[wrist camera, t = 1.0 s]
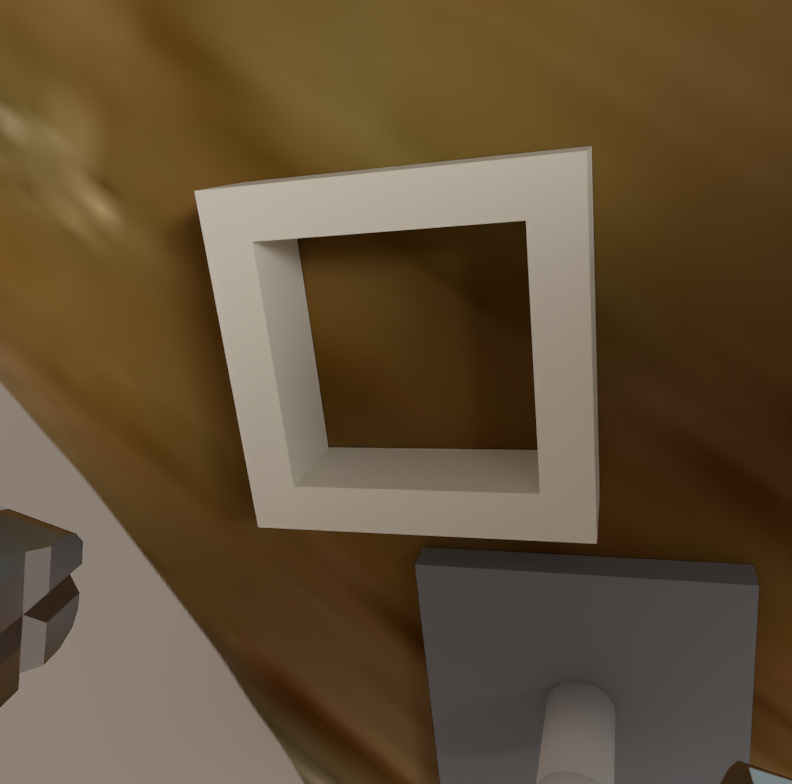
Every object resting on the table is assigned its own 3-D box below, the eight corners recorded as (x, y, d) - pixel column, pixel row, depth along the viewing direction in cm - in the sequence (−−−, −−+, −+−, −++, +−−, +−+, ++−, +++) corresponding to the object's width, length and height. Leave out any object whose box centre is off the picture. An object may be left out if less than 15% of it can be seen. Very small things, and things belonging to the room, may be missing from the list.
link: (591, 145, 27) (587, 150, 23) (599, 494, 31) (596, 543, 28) (244, 182, 31) (194, 191, 27) (295, 485, 35) (258, 527, 32)
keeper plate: (753, 564, 30) (793, 704, 23) (739, 823, 35) (770, 1008, 28) (423, 547, 34) (370, 661, 27) (448, 780, 39) (409, 931, 32)
